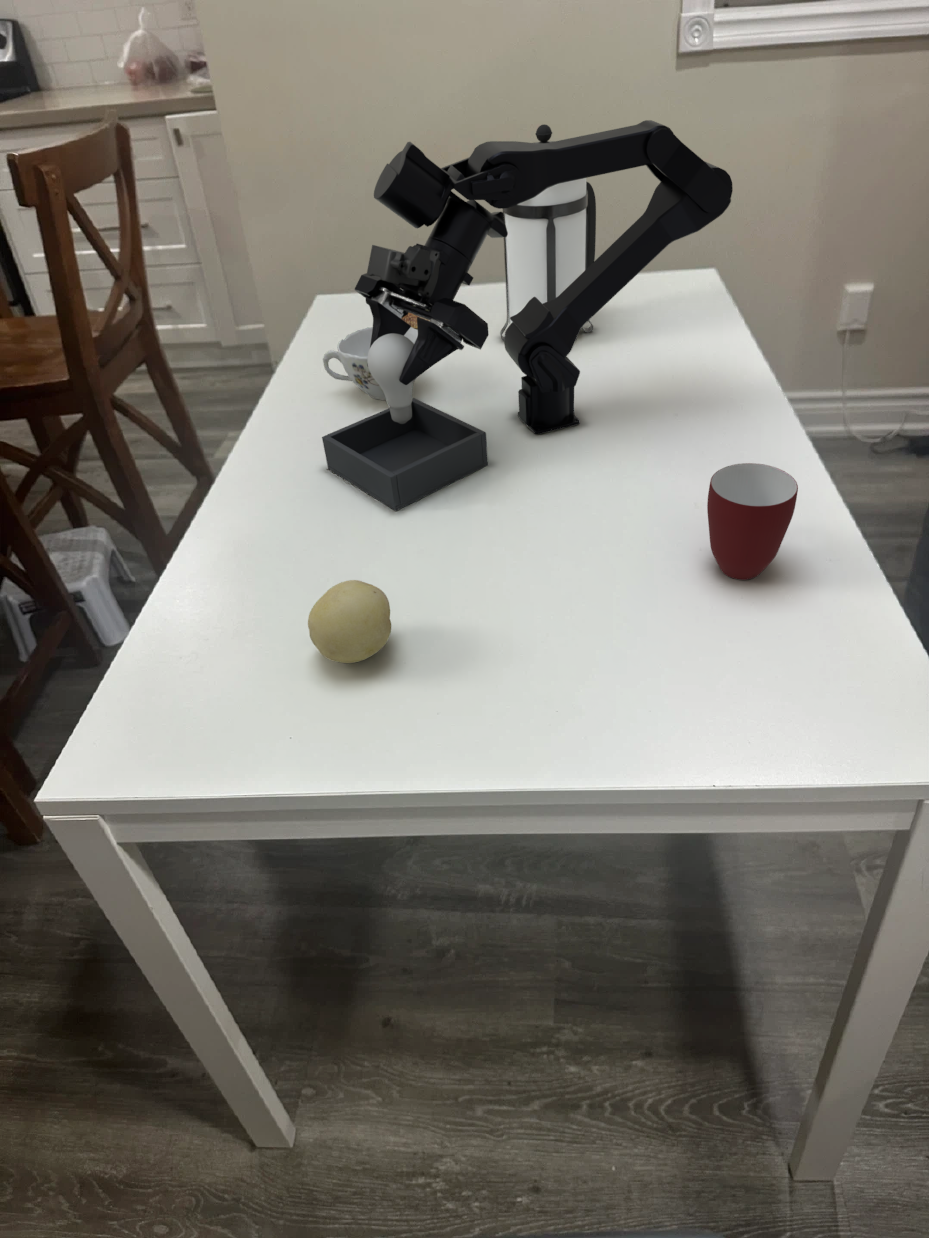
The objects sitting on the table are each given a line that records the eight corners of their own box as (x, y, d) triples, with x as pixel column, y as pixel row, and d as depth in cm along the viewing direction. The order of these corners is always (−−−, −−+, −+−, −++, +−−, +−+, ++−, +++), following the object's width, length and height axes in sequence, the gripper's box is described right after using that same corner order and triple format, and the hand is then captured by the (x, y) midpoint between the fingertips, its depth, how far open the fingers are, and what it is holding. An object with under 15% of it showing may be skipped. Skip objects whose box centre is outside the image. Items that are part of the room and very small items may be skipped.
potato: (408, 666, 81) (398, 599, 76) (327, 691, 79) (310, 624, 74) (385, 619, 86) (374, 554, 81) (309, 641, 85) (292, 576, 80)
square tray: (417, 428, 118) (413, 397, 115) (488, 465, 109) (486, 432, 106) (327, 469, 111) (321, 436, 108) (395, 511, 102) (390, 477, 99)
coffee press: (604, 350, 133) (611, 130, 114) (501, 357, 134) (490, 140, 115) (593, 309, 146) (597, 107, 127) (499, 316, 147) (489, 115, 128)
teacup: (432, 371, 132) (427, 319, 127) (429, 408, 122) (423, 353, 117) (335, 378, 133) (325, 327, 128) (324, 415, 123) (313, 361, 118)
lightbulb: (436, 424, 105) (425, 336, 98) (391, 440, 103) (377, 351, 96) (413, 406, 109) (402, 321, 102) (369, 421, 107) (355, 334, 100)
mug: (686, 536, 94) (694, 454, 87) (760, 530, 93) (774, 447, 87) (710, 596, 85) (722, 510, 79) (792, 589, 85) (810, 502, 79)
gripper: (354, 199, 99) (292, 324, 101) (459, 226, 87) (387, 367, 89) (417, 252, 107) (359, 366, 109) (519, 283, 96) (452, 410, 98)
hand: (386, 375), depth 101 cm, fingers closed on lightbulb, 6 cm apart
